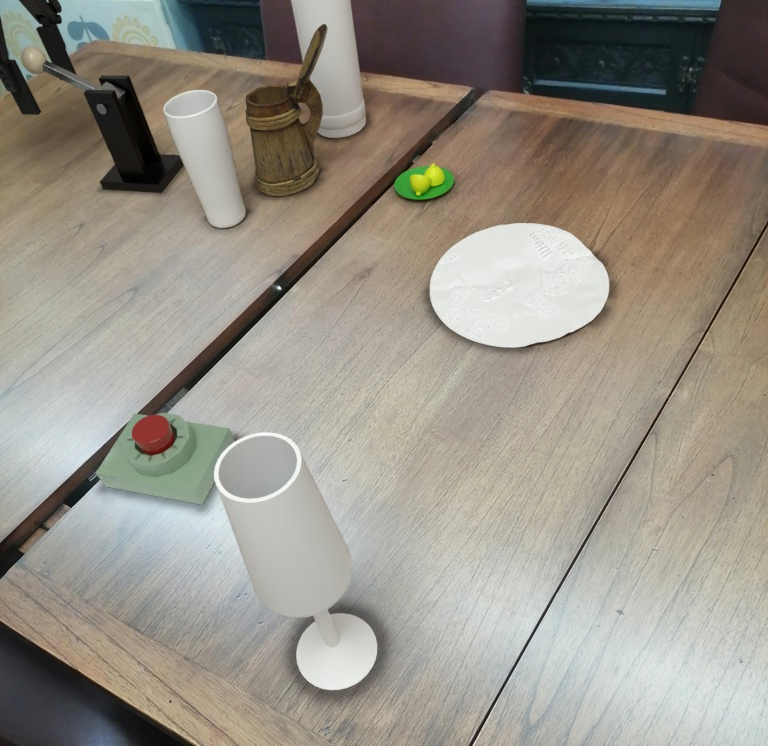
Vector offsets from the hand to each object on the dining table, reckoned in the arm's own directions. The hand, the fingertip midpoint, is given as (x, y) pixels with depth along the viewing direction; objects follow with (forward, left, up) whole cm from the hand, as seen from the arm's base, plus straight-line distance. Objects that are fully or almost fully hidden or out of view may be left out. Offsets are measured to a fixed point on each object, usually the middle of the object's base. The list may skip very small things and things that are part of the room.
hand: (50, 95), depth 97 cm
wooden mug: (+35, +2, -11) cm, 37 cm away
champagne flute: (+63, -65, -11) cm, 91 cm away
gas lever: (+4, 0, +1) cm, 4 cm away
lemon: (+53, +1, -11) cm, 54 cm away
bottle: (+36, +16, -11) cm, 41 cm away
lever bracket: (+10, 0, -11) cm, 15 cm away
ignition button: (+40, -50, -7) cm, 64 cm away
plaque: (+69, -18, -11) cm, 72 cm away
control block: (+40, -50, -11) cm, 65 cm away
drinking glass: (+28, -9, -11) cm, 32 cm away
